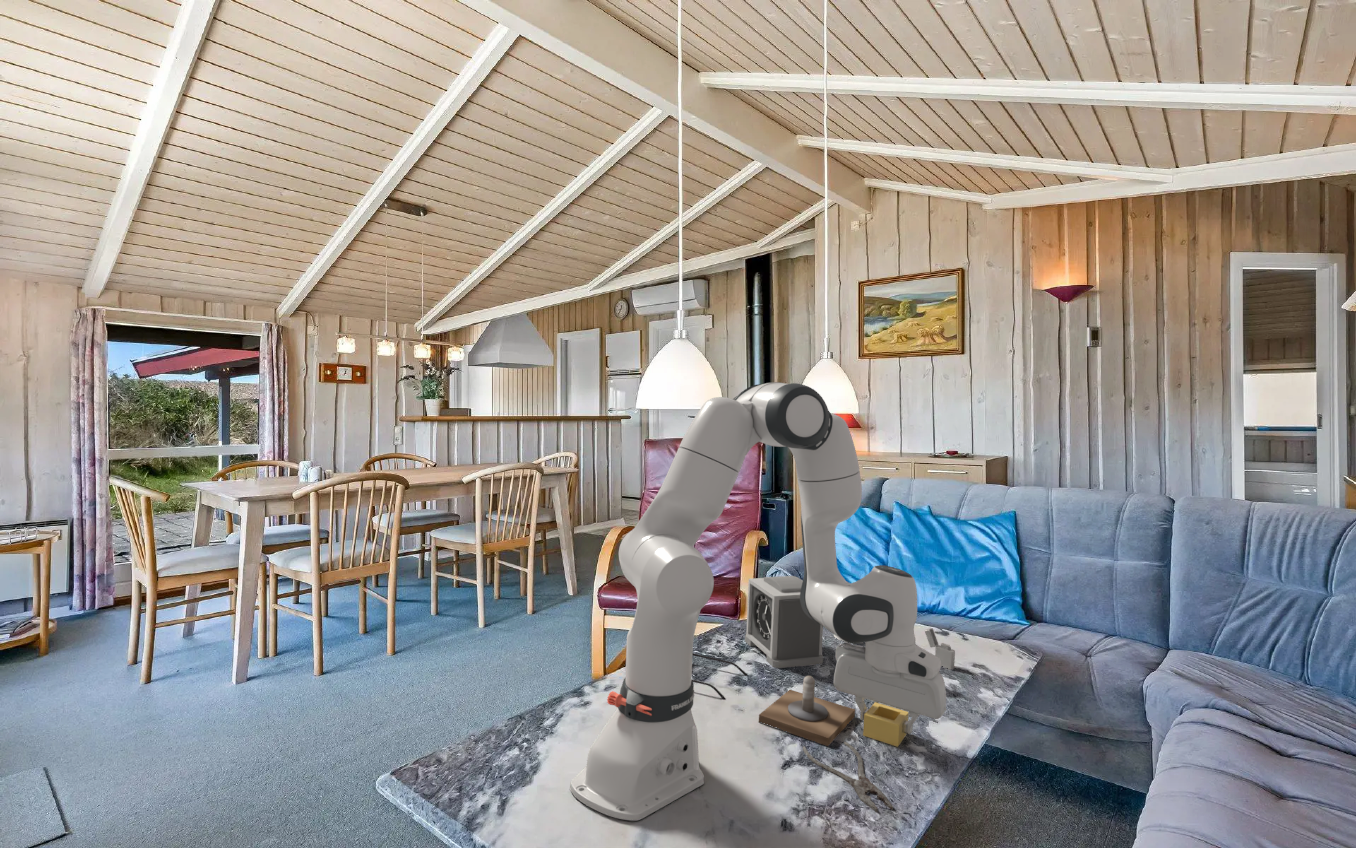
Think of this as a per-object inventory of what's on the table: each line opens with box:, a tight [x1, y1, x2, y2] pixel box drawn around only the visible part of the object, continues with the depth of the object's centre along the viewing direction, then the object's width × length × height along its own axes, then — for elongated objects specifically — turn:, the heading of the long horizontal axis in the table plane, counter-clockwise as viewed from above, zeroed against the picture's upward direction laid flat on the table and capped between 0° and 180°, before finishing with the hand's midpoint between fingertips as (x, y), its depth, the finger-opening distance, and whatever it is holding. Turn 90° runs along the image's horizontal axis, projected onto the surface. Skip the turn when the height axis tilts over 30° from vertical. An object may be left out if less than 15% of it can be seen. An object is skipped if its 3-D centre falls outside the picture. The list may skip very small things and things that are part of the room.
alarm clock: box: [744, 575, 824, 669], centre depth 162 cm, size 18×13×18 cm
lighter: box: [924, 627, 956, 670], centre depth 158 cm, size 7×2×8 cm, turn 42°
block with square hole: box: [862, 701, 910, 748], centre depth 123 cm, size 6×6×4 cm
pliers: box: [802, 741, 894, 813], centre depth 110 cm, size 10×1×20 cm
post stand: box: [758, 675, 856, 747], centre depth 128 cm, size 14×14×9 cm
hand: (885, 726), depth 123 cm, fingers closed on block with square hole, 6 cm apart
